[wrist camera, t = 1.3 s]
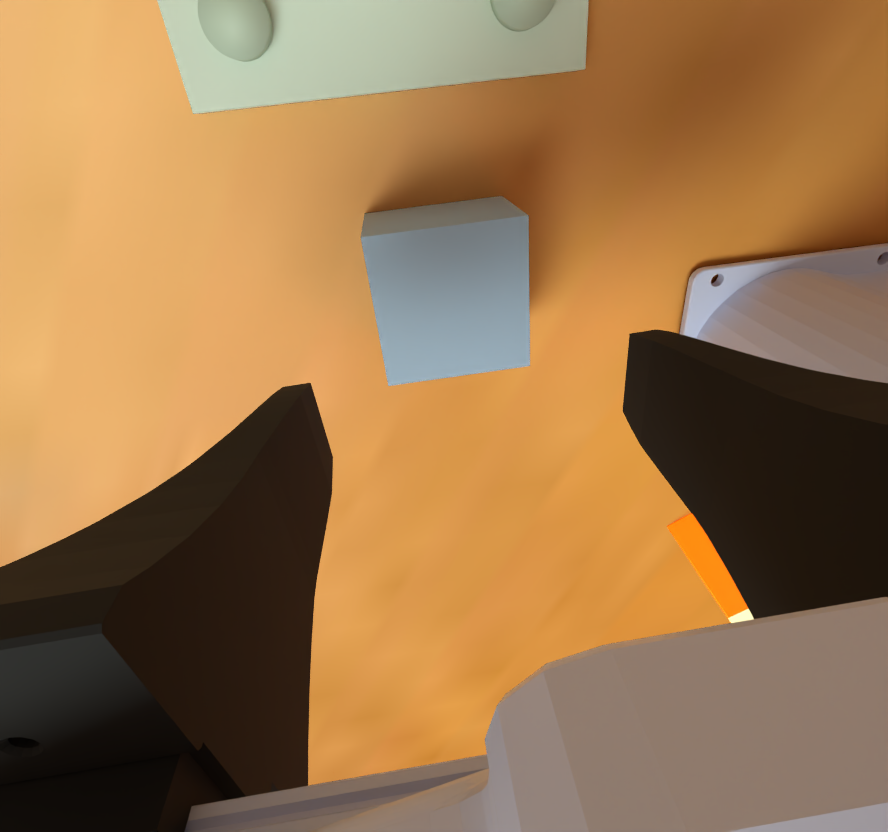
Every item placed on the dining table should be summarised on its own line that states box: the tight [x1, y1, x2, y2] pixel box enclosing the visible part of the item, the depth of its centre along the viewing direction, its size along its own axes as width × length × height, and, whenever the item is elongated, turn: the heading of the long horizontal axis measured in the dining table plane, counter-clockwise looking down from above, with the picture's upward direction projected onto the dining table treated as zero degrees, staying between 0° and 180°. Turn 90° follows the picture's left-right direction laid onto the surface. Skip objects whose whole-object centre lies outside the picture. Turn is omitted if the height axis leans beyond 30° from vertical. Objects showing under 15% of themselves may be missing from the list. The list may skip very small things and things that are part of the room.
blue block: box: [361, 196, 530, 386], centre depth 18 cm, size 5×5×4 cm
